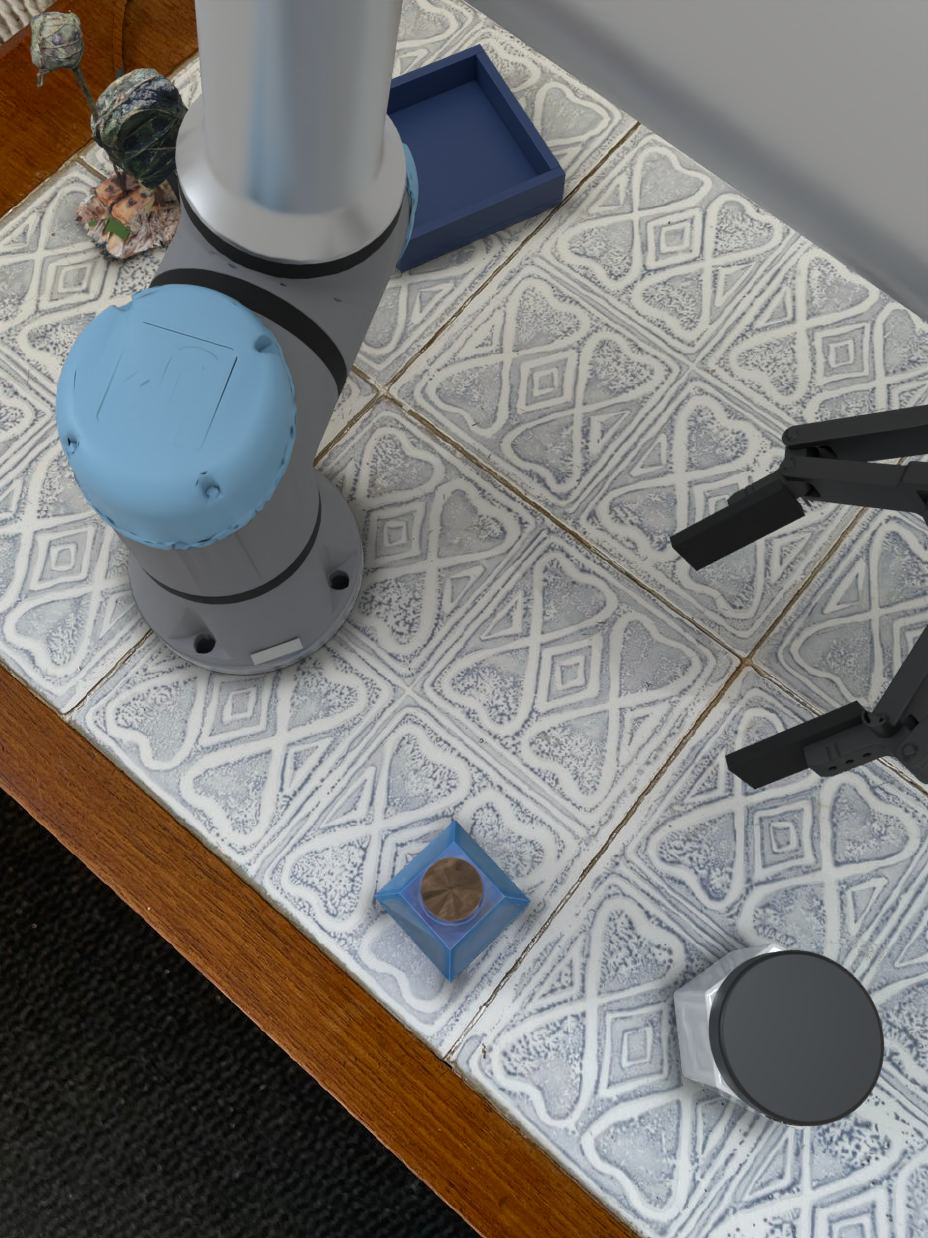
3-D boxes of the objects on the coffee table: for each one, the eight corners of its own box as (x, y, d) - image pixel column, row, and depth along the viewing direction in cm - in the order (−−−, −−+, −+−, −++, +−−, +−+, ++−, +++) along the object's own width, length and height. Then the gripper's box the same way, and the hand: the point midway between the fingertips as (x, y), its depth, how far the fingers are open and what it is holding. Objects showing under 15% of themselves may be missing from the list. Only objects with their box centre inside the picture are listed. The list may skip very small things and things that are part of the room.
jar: (725, 1139, 64) (783, 1170, 53) (640, 1013, 66) (678, 1016, 55) (846, 1047, 66) (928, 1057, 54) (760, 926, 68) (821, 912, 56)
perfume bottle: (455, 834, 69) (454, 802, 58) (525, 909, 68) (538, 892, 57) (381, 905, 68) (365, 886, 57) (450, 983, 67) (448, 980, 55)
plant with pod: (241, 220, 84) (177, -6, 65) (98, 276, 82) (-9, 61, 63) (200, 141, 86) (128, -100, 67) (61, 194, 85) (-54, -37, 66)
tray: (323, 140, 86) (318, 107, 83) (479, 76, 88) (480, 42, 85) (400, 273, 83) (398, 244, 79) (562, 203, 85) (566, 173, 82)
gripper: (1327, 733, 42) (805, 909, 52) (1059, 316, 57) (695, 512, 67) (1300, 648, 37) (729, 860, 47) (1015, 217, 52) (629, 444, 62)
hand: (708, 656), depth 57 cm, fingers open, 13 cm apart
